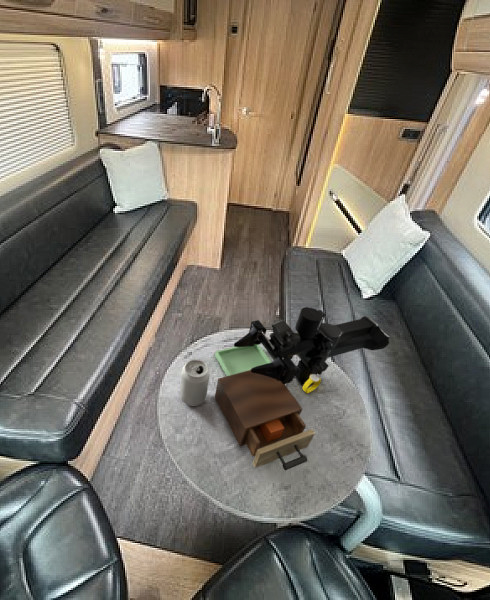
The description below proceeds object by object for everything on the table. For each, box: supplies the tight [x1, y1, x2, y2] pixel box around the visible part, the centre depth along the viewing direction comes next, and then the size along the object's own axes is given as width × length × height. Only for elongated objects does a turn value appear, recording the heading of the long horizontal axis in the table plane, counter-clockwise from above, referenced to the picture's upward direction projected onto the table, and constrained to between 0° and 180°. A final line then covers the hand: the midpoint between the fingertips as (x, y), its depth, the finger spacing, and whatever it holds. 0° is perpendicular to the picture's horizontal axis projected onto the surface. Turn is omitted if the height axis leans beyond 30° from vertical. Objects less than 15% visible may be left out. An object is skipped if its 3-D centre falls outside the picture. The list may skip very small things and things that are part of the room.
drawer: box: [244, 413, 316, 471], centre depth 80 cm, size 19×15×6 cm
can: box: [179, 358, 211, 407], centre depth 87 cm, size 8×8×12 cm
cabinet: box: [214, 370, 303, 448], centre depth 86 cm, size 16×17×8 cm
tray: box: [214, 344, 272, 376], centre depth 102 cm, size 15×11×2 cm
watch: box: [302, 374, 322, 394], centre depth 95 cm, size 6×3×6 cm, turn 120°
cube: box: [259, 419, 284, 442], centre depth 80 cm, size 4×4×4 cm
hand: (242, 357), depth 82 cm, fingers open, 9 cm apart
